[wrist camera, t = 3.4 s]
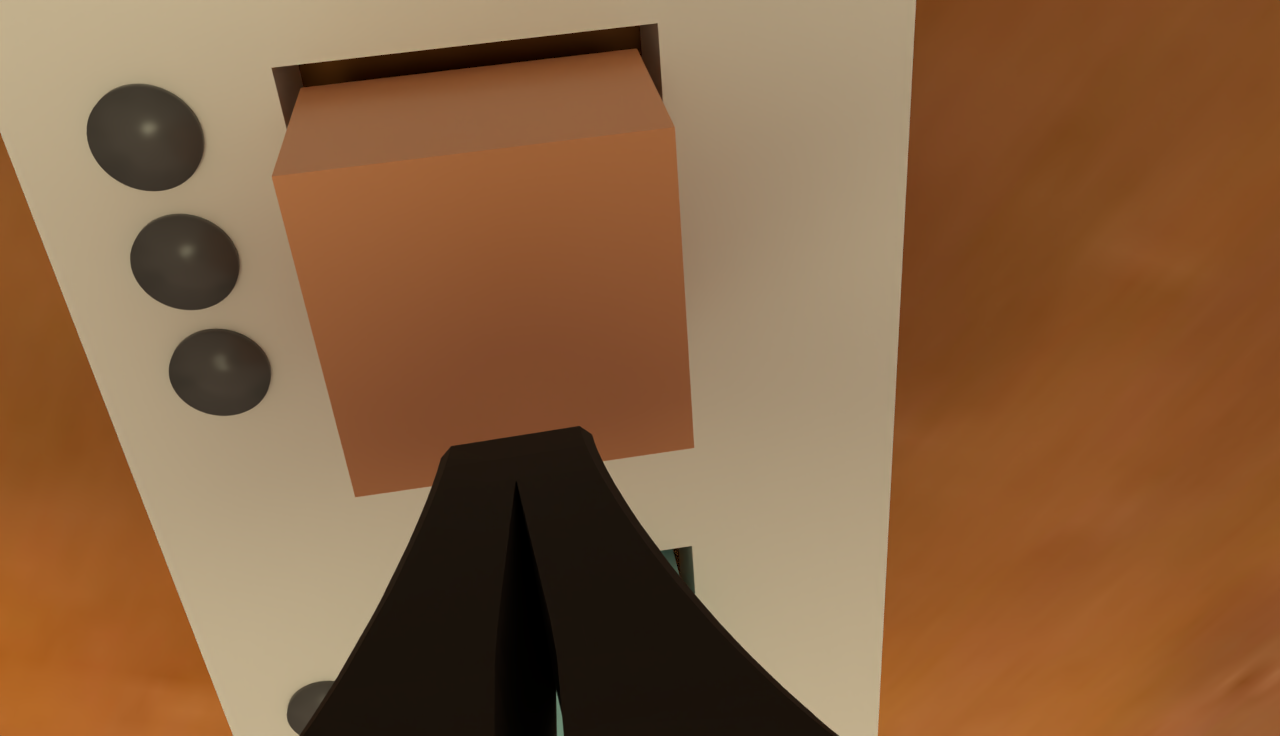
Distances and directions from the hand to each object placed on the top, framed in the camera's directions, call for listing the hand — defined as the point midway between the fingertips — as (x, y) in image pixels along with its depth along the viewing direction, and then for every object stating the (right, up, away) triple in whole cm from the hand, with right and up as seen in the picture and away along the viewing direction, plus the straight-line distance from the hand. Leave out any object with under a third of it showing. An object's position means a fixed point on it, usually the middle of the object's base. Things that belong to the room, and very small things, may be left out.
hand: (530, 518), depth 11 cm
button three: (-1, +4, +5) cm, 6 cm away
